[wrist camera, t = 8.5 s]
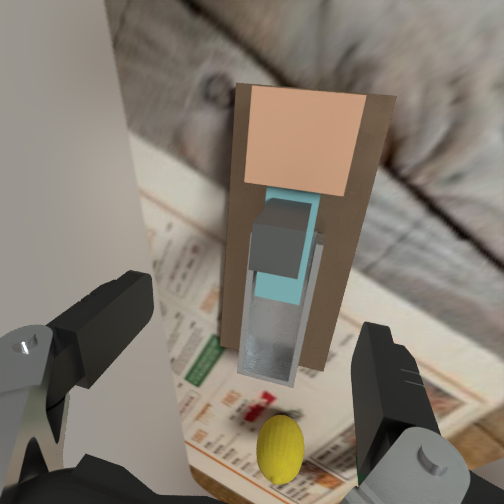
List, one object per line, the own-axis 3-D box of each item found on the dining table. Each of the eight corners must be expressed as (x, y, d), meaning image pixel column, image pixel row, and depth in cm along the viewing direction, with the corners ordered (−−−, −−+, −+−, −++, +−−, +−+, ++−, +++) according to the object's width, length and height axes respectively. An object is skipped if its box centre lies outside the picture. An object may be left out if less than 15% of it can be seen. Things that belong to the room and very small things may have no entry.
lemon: (256, 406, 38) (239, 470, 31) (292, 396, 36) (283, 462, 29) (278, 434, 40) (267, 502, 32) (314, 426, 37) (311, 497, 30)
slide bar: (280, 125, 23) (252, 125, 14) (332, 130, 22) (334, 134, 14) (261, 279, 29) (233, 344, 20) (301, 287, 28) (290, 357, 20)
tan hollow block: (266, 92, 23) (252, 85, 18) (359, 100, 22) (366, 95, 17) (258, 172, 25) (244, 182, 21) (340, 183, 24) (343, 196, 20)
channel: (239, 84, 24) (223, 77, 20) (393, 97, 22) (407, 91, 18) (222, 340, 35) (210, 366, 32) (323, 364, 33) (322, 395, 29)
